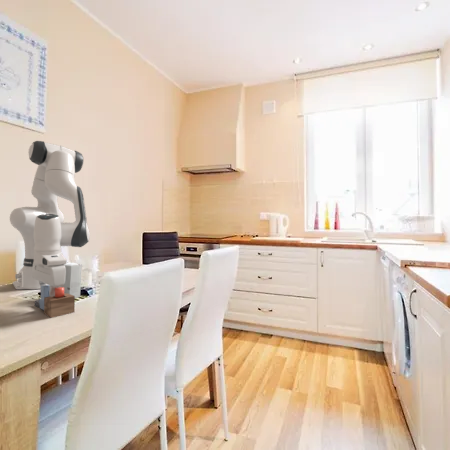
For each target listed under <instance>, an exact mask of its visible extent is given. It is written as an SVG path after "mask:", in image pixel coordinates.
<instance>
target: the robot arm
mask: <svg viewBox="0 0 450 450" xmlns="http://www.w3.org/2000/svg"><path fill="white" fill-rule="evenodd" d="M28 157H29V158H28V159H29V160H30V162H32V163H33V164H35V165H38V166H37V168H36V171H35V174H34V178H33V182H32V187H31V195H32V196H33V197H34V198H35V199H36V200H37V201H36V202H37V206H22V207H18V208H14V209H13V210H12V211H11V213H10V214H9V215H10V216H9V222H10V224H11V226H12V227H13V228H14V229H16V230H17V231H18V232H19V233H20V235H21V237H22V239H23V242H24V243H23V244H24V258H23V264H22V267H21V269H20V270H19V272H18V273H16V274H15V279H16V280H15V281H13V282H12V285H13V287H14V288H15V290H40V291H39V292H40V293H41V286H45V285H49V287H50V290H49V291H48V295H49V296H51V297H52V296H55V288H57V286H63V285H64V283H65V274H66V268H65V265H64V264H66V263H67V262H68V259H67V257H66V256H64V255H63V252H62V247H73V248H82V247H84V246H86V245H87V244H88V243H89V242H90V236H91V233H90V229H89V227H88V221H87V213H86V206H85V205H86V204H85V199H84V194H83V193H84V192H83V191H82V188H81V187H80V186H78V185H77V183H76V180H75V177H76V174H77V173H79V172H80V171H81V170H82V168H83V166H84V156H83V154H82V153H81V152H79V151H77V150H73V149H70V148H68V147H65V146H63V145H58V144H54V143H48V142H45V141H42V140H34V141H33V142H32V143H31V145H30V146H29V148H28ZM59 198H61V199H63V200H64V199H65V200H67V201H69V202H70V203H72V204H73V209H74V215H75V216H74V217H75V221H74V222H64V221H65V215H64V213H63V212H62V211H61V209H60V207H59V203H58V199H59Z"/></svg>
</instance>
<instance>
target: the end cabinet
mask: <svg viewBox="0 0 450 450" xmlns="http://www.w3.org/2000/svg"><path fill="white" fill-rule="evenodd" d="M75 300H76V298H75V296H73V295H70V294H68V293H66V294H64V297H58V298H57V297H55V296H52V297H51V296H50V297H44V310H43V313H44V315H45V316H47V317H49V318H51V319H53V318H56V317H60V316H63V315H69V314H72V313H75V310H76V309H75V306H76V305H75V302H76V301H75Z"/></svg>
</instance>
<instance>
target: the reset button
mask: <svg viewBox="0 0 450 450" xmlns="http://www.w3.org/2000/svg"><path fill="white" fill-rule="evenodd" d="M55 297H57V298H58V297H64V287H58V288H55Z"/></svg>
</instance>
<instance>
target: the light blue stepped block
mask: <svg viewBox="0 0 450 450" xmlns="http://www.w3.org/2000/svg"><path fill="white" fill-rule="evenodd" d="M49 290H50V287H49V285H45V286H41V292H40V298H39V299H38V300H39V304H40V308H41V310H42V311H44V297H50V296H49V295H48V291H49ZM40 308H39V309H40Z"/></svg>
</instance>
